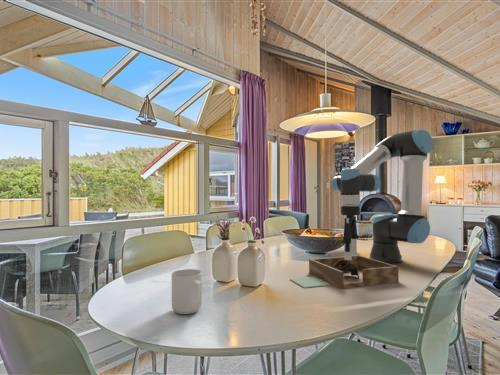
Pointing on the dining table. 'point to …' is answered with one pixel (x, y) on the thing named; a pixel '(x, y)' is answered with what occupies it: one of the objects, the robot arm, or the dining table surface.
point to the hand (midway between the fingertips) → (350, 256)
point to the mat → (310, 282)
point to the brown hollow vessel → (347, 267)
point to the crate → (370, 268)
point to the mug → (186, 291)
